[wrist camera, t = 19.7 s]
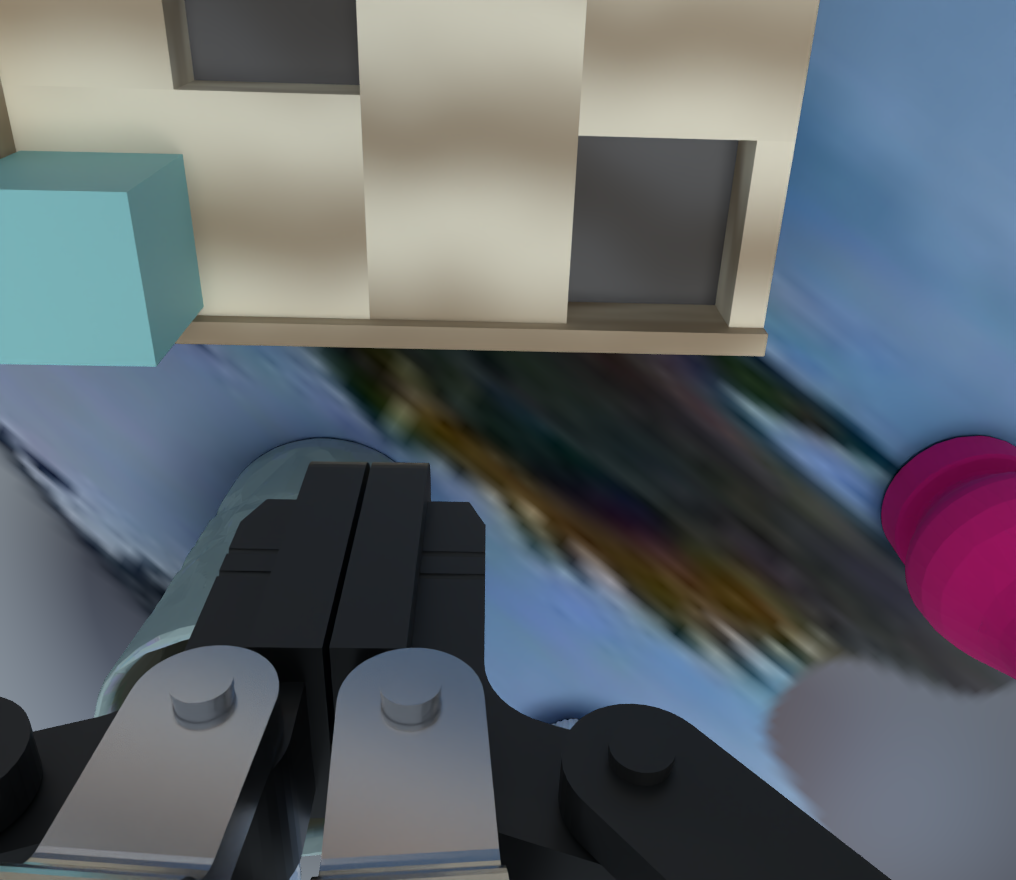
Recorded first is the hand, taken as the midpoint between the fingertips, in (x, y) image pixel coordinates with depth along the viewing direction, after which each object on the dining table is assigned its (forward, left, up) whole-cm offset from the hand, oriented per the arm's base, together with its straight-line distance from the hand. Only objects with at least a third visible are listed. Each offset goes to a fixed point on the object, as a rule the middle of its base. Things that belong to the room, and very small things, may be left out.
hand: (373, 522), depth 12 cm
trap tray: (-2, -2, -22) cm, 22 cm away
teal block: (+2, -11, -20) cm, 22 cm away
